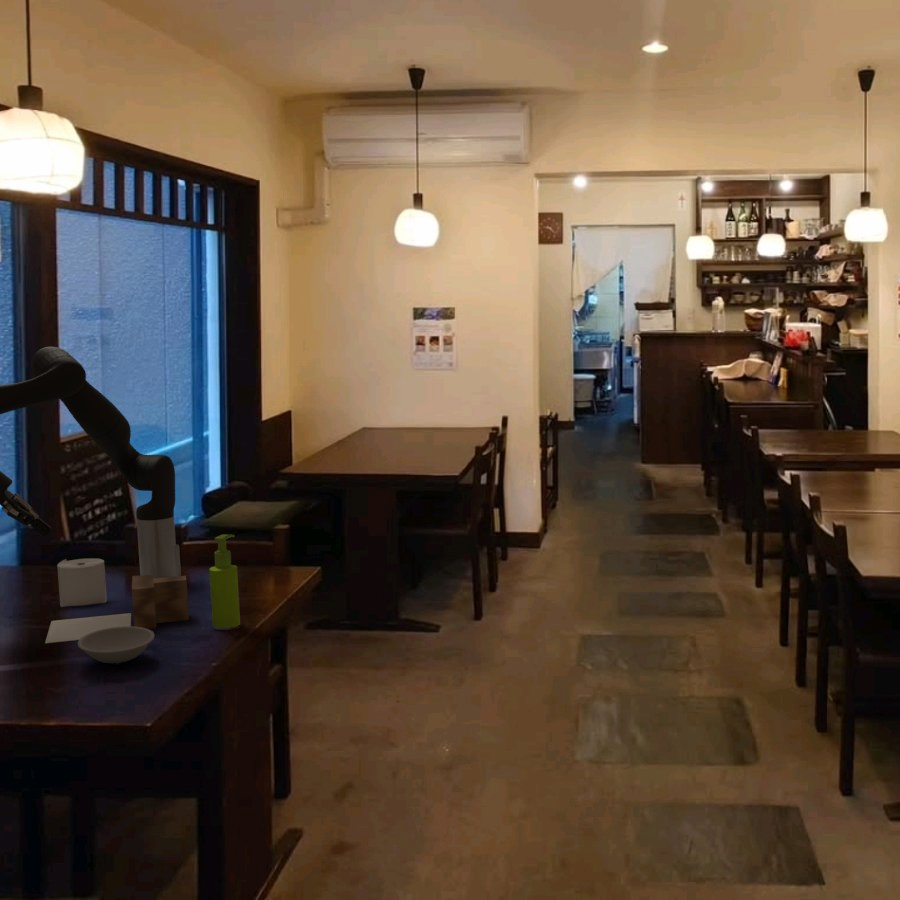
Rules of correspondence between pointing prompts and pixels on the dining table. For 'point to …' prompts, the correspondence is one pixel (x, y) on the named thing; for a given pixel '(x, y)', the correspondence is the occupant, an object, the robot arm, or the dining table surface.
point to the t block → (159, 600)
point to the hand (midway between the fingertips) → (48, 532)
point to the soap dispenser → (224, 587)
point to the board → (84, 626)
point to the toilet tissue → (81, 582)
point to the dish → (116, 643)
